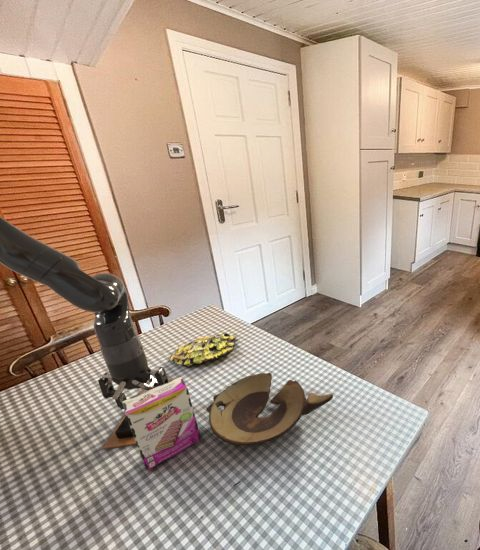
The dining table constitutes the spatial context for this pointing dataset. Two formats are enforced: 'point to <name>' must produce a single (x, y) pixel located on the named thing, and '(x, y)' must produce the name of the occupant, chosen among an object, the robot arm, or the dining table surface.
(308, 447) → the dining table surface
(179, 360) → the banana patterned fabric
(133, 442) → the cork mat
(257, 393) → the brown shallow dish
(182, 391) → the candy bar box
